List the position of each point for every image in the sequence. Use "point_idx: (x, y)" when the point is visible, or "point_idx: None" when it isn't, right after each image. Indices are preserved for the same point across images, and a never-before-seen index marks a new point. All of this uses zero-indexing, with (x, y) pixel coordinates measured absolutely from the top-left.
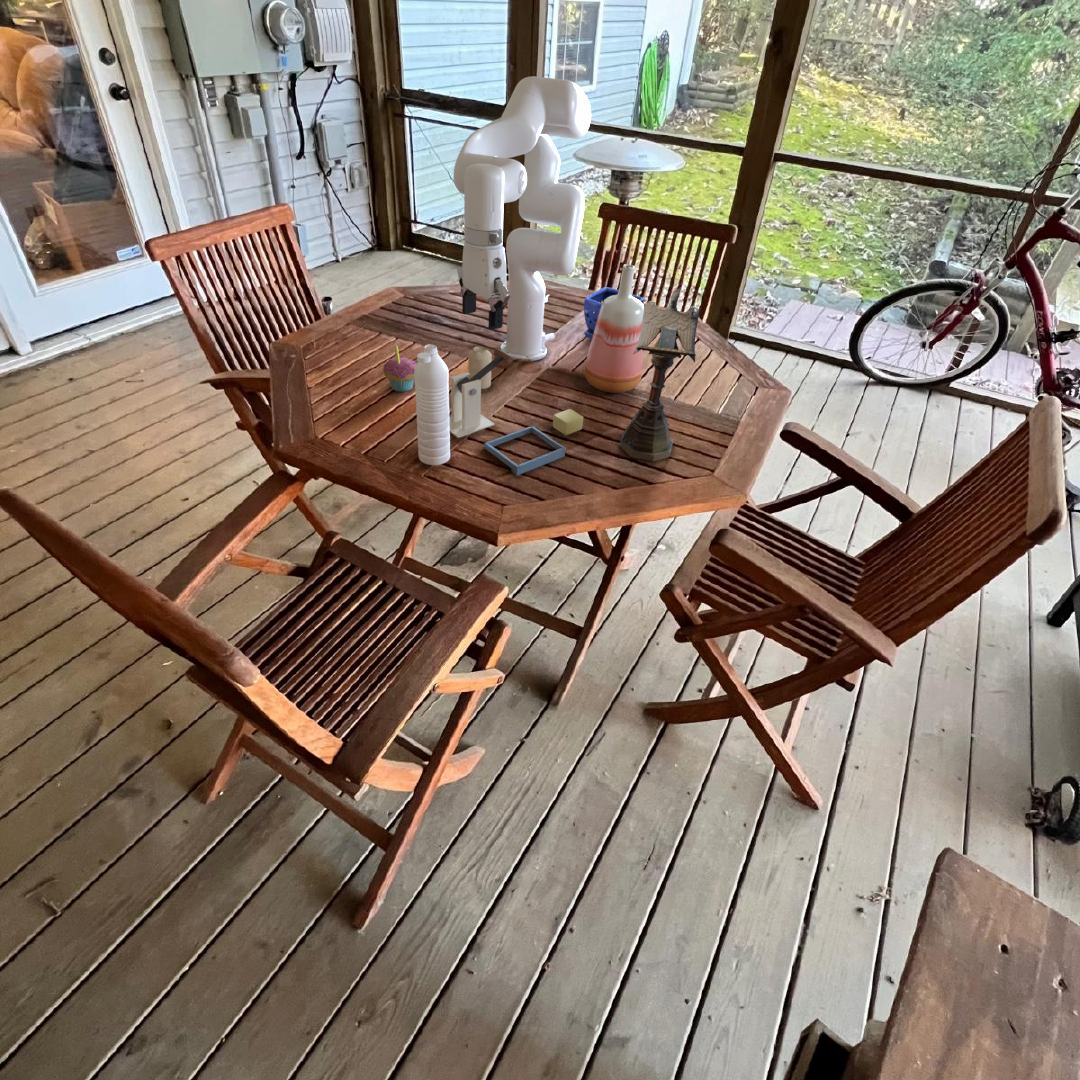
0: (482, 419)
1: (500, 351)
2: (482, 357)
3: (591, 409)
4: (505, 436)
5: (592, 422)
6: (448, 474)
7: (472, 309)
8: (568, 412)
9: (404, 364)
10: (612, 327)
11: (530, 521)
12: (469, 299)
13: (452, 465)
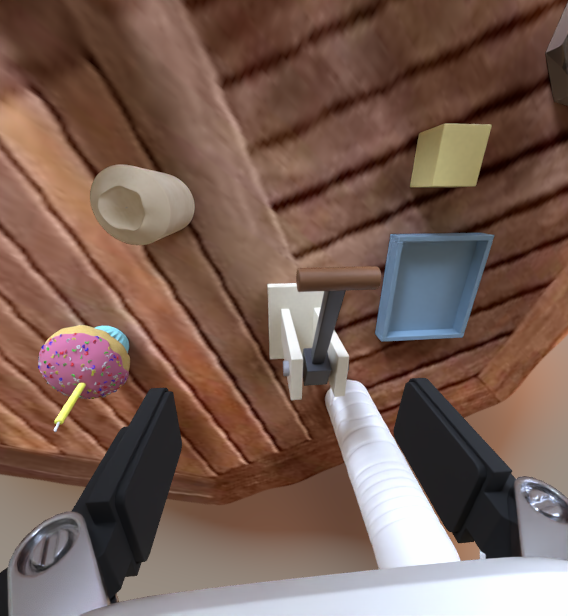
0: (309, 294)
1: (326, 285)
2: (163, 220)
3: (417, 5)
4: (391, 303)
5: (455, 67)
6: (382, 396)
7: (170, 421)
8: (452, 144)
9: (93, 376)
10: None
11: (520, 367)
12: (150, 507)
13: (370, 383)
